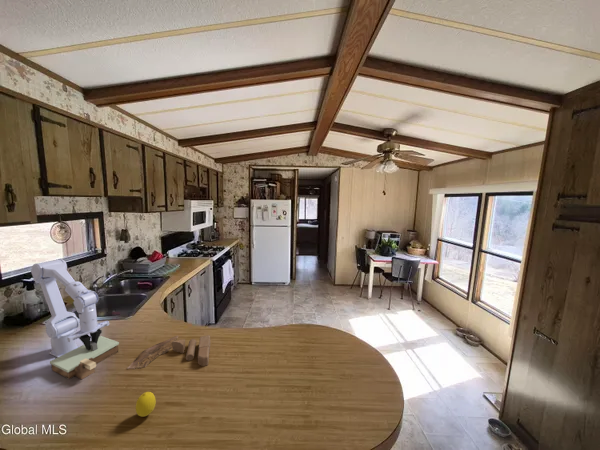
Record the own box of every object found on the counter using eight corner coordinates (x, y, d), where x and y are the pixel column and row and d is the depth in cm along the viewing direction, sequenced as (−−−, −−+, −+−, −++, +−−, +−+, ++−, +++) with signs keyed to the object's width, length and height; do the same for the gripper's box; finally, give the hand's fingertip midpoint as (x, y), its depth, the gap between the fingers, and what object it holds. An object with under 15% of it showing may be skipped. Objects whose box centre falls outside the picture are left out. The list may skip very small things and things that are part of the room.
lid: (50, 363, 96) (48, 355, 96) (101, 337, 113) (100, 330, 113) (67, 372, 91) (66, 364, 91) (119, 344, 108) (117, 336, 108)
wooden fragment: (136, 374, 95) (136, 371, 95) (119, 366, 99) (119, 364, 99) (187, 339, 119) (187, 337, 119) (172, 334, 123) (172, 332, 123)
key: (80, 365, 94) (79, 361, 93) (86, 362, 95) (85, 358, 95) (90, 370, 91) (89, 365, 91) (96, 366, 93) (95, 362, 93)
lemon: (142, 408, 79) (141, 387, 78) (159, 407, 79) (158, 385, 79) (132, 423, 73) (130, 401, 73) (150, 422, 74) (148, 399, 73)
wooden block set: (210, 331, 116) (208, 354, 99) (210, 342, 116) (208, 366, 99) (172, 338, 110) (163, 363, 93) (173, 349, 111) (164, 376, 94)
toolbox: (52, 370, 97) (50, 357, 96) (101, 345, 113) (100, 333, 113) (76, 382, 90) (74, 368, 89) (125, 354, 107) (124, 342, 106)
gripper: (72, 329, 94) (76, 360, 96) (112, 313, 108) (114, 340, 109) (63, 326, 97) (66, 356, 98) (103, 311, 110) (105, 337, 112)
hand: (91, 347), depth 104 cm, fingers closed on lid, 2 cm apart
